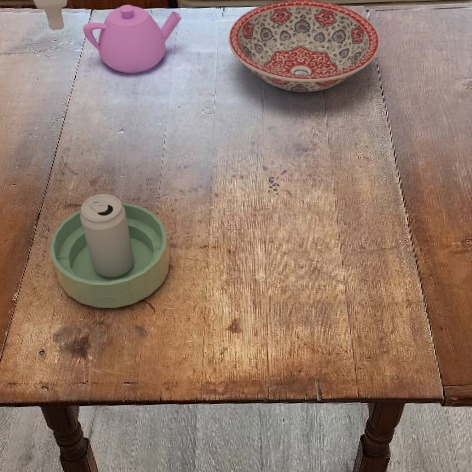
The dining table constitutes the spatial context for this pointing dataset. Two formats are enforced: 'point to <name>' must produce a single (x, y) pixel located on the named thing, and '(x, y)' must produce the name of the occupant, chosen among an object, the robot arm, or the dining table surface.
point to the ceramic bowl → (303, 43)
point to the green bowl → (121, 287)
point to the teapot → (131, 39)
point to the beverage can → (107, 235)
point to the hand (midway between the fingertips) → (53, 7)
